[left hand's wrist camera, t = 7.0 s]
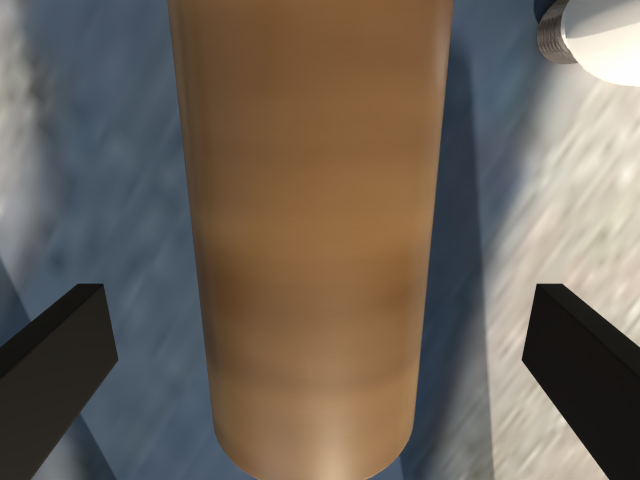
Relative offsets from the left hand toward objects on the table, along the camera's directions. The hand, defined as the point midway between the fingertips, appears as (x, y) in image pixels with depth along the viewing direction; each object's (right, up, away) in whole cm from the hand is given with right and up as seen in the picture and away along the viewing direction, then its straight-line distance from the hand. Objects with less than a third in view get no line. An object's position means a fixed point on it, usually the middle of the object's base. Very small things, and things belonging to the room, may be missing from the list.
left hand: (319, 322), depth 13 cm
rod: (0, +11, +2) cm, 11 cm away
